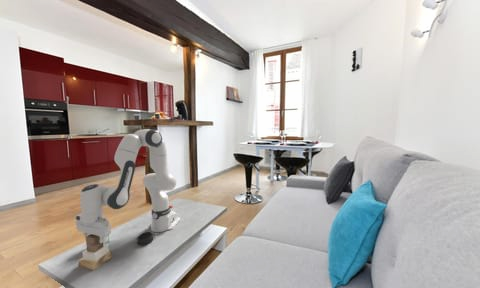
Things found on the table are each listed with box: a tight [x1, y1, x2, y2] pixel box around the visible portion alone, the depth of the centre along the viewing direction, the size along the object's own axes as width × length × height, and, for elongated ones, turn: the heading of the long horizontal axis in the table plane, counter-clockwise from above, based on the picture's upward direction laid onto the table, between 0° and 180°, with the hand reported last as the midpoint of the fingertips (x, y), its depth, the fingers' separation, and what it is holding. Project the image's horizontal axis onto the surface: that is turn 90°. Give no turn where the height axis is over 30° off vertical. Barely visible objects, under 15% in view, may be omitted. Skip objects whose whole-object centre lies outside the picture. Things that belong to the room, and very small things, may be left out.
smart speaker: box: [137, 231, 154, 246], centre depth 121 cm, size 9×9×4 cm
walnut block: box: [85, 234, 104, 253], centre depth 101 cm, size 5×5×8 cm
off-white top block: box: [82, 243, 110, 261], centre depth 102 cm, size 8×8×4 cm
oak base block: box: [77, 250, 112, 271], centre depth 103 cm, size 10×10×4 cm
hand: (94, 240), depth 101 cm, fingers open, 8 cm apart
